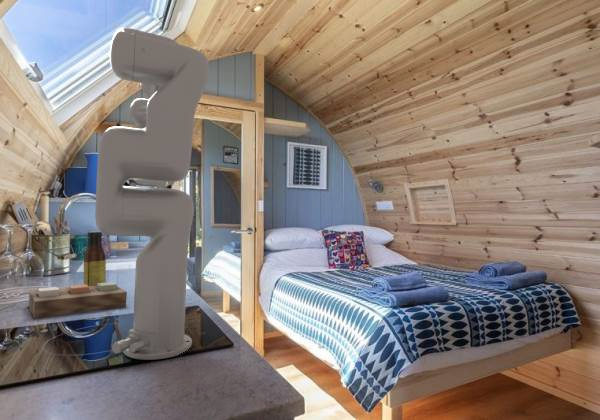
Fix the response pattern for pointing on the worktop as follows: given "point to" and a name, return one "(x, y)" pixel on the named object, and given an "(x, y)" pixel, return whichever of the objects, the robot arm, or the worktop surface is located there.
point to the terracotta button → (78, 289)
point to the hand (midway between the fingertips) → (146, 205)
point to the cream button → (48, 292)
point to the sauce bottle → (94, 260)
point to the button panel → (75, 301)
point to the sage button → (106, 286)
